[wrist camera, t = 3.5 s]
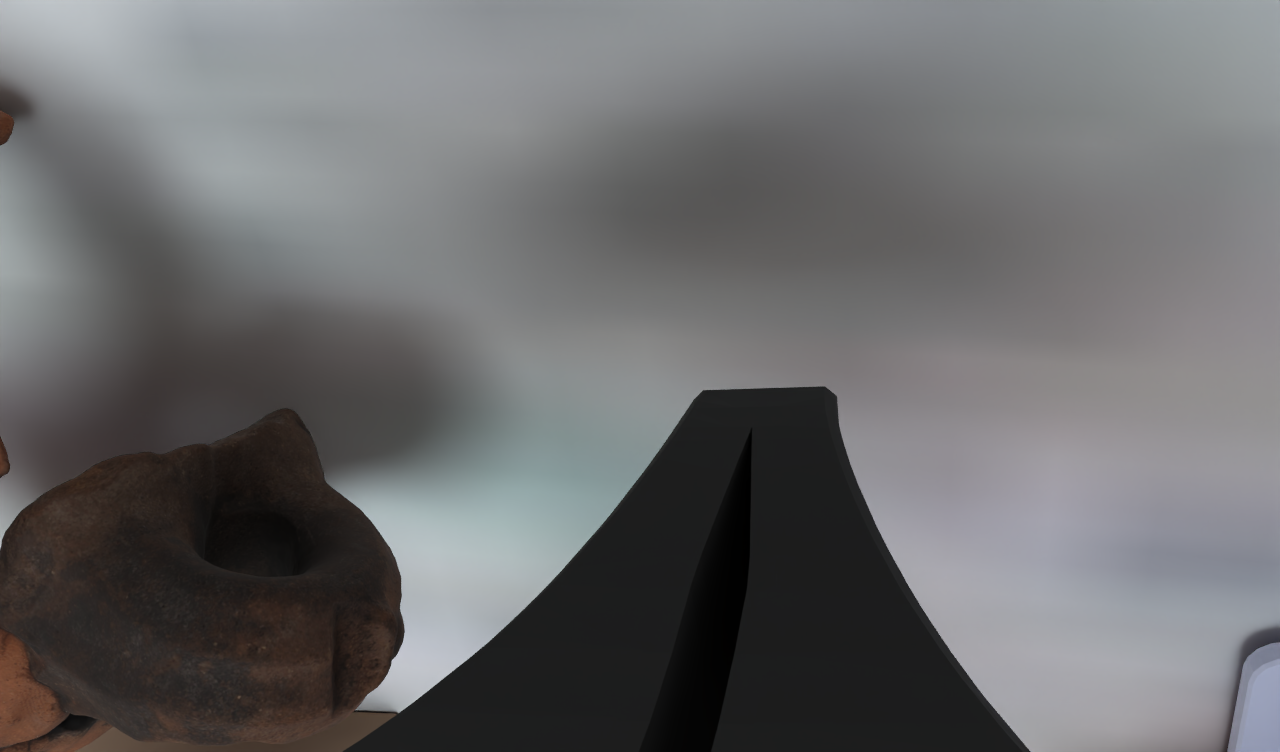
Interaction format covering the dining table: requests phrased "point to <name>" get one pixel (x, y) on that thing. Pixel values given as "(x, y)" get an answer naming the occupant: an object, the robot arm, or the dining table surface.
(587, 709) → the robot arm
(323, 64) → the dining table surface
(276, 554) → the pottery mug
